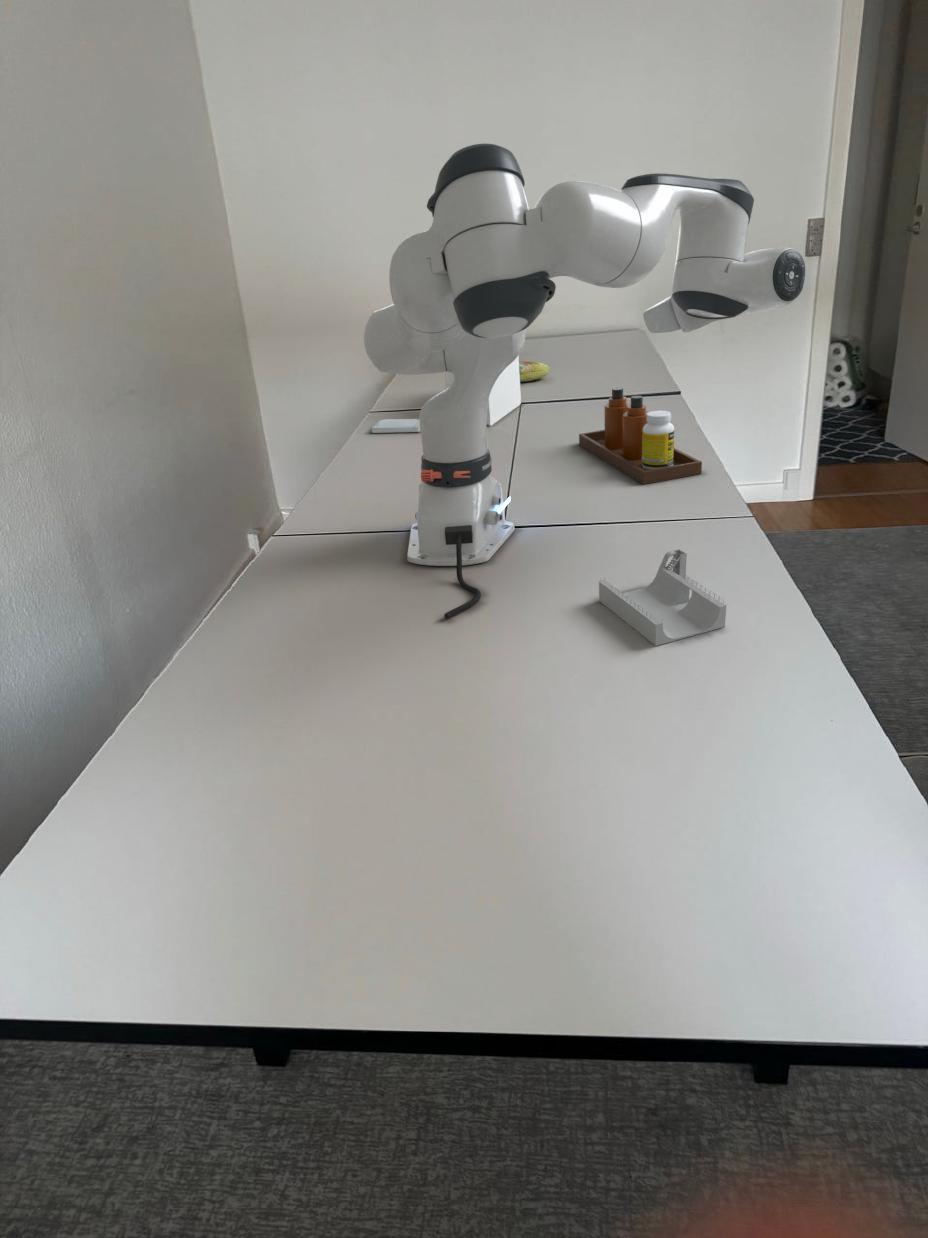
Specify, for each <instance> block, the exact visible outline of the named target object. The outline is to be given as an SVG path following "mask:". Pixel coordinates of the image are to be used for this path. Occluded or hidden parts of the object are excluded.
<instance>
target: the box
mask: <svg viewBox="0 0 928 1238" xmlns="http://www.w3.org/2000/svg"><path fill="white" fill-rule="evenodd" d="M519 362H520V354H519V355H518V356H517V358H516V359H515V360H514V361H513V362H512V363H511V364H510V365H508V366H507V367H506V369H505V370H504V371H503V372H502V373H501V374H500V376H499V377H498V379H497V380H496V382H495V384H494V386H493V388H492V390H491V393H490V396H489V399H488V404H487V414H486V426H490V427H492V426H493V425H494V424H495V423H497V422H498V421H500V420H501V419H502V418H504V417H505V416H506V415H508V414H509V413H511V412H512V411H514V410H515V409H516V408H517V407H519V406H520V405H521V404H522V397H521V396H522V395H521V394H522V393H521V392H522V391H521V382H520V374H519ZM453 380H454V375H453V374H452V373H451V372H444V381H445V389H446V388H448V387H449V386H450V385H451V384H452V382H453Z"/></svg>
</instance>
